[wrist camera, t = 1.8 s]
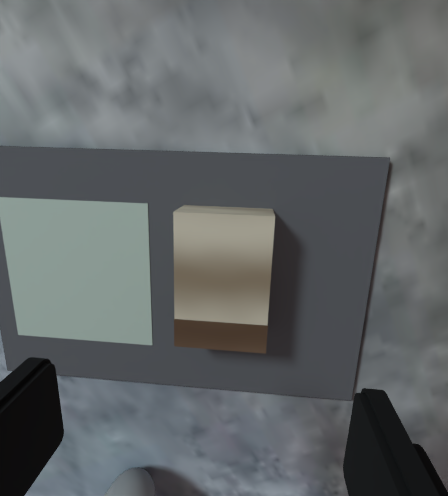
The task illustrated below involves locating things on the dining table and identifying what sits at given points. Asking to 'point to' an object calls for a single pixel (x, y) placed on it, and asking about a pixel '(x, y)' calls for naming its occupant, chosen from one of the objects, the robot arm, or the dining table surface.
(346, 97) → the dining table surface
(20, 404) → the robot arm
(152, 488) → the donut
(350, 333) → the mat
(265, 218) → the wooden block
